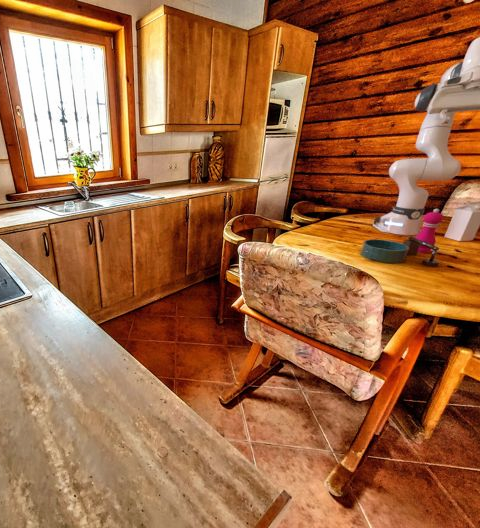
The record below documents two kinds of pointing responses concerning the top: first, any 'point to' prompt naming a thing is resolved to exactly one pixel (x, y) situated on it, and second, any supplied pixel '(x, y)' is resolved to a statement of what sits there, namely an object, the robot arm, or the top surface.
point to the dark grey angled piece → (431, 261)
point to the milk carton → (464, 222)
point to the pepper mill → (429, 230)
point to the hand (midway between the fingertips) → (465, 121)
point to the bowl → (384, 251)
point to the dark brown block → (411, 247)
